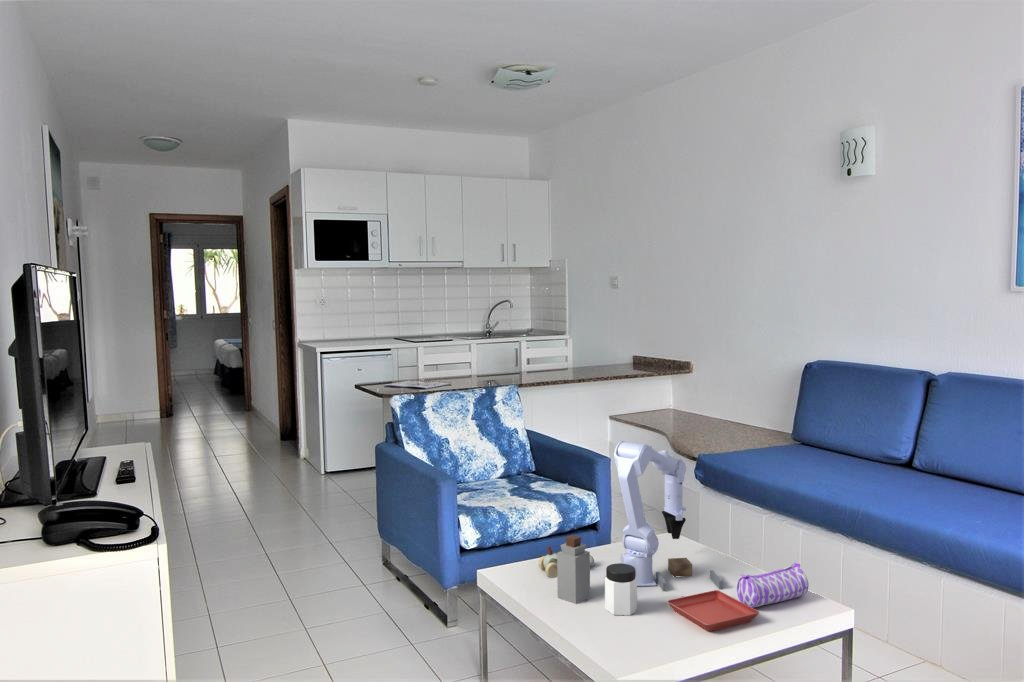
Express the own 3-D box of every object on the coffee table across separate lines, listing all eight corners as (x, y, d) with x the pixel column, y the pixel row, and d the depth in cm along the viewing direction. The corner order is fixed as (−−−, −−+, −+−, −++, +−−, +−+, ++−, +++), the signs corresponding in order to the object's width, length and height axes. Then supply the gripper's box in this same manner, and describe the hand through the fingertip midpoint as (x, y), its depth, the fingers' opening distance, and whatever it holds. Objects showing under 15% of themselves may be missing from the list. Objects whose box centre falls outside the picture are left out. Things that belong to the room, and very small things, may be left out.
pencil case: (787, 588, 232) (787, 557, 231) (812, 598, 224) (813, 566, 223) (733, 603, 221) (733, 571, 220) (757, 615, 213) (758, 582, 212)
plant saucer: (665, 611, 217) (665, 599, 217) (717, 599, 224) (717, 588, 224) (706, 637, 201) (706, 624, 200) (760, 624, 208) (761, 612, 208)
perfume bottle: (590, 596, 227) (589, 536, 226) (575, 603, 222) (575, 542, 221) (572, 590, 232) (571, 532, 230) (557, 597, 227) (557, 537, 225)
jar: (642, 613, 215) (642, 570, 214) (617, 618, 212) (617, 576, 211) (624, 601, 223) (624, 560, 222) (600, 606, 220) (599, 565, 219)
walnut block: (673, 577, 241) (673, 565, 241) (668, 570, 247) (668, 558, 247) (692, 576, 242) (692, 564, 242) (686, 569, 248) (686, 557, 248)
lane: (663, 591, 230) (663, 583, 230) (655, 579, 239) (655, 572, 239) (722, 589, 231) (722, 581, 231) (713, 577, 240) (713, 570, 240)
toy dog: (598, 568, 251) (598, 540, 250) (559, 583, 238) (558, 555, 238) (570, 558, 260) (570, 532, 259) (531, 573, 247) (530, 545, 247)
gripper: (692, 500, 244) (691, 542, 245) (679, 488, 258) (679, 528, 259) (669, 501, 244) (670, 543, 245) (658, 489, 258) (658, 529, 259)
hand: (673, 535), depth 252 cm, fingers open, 5 cm apart
